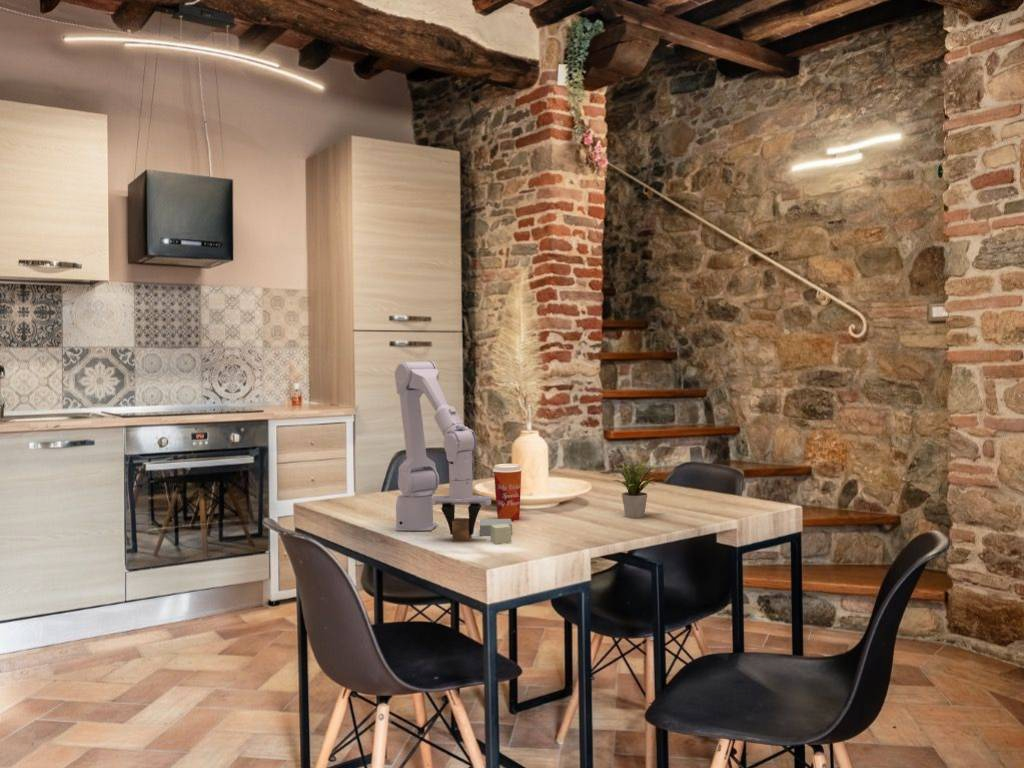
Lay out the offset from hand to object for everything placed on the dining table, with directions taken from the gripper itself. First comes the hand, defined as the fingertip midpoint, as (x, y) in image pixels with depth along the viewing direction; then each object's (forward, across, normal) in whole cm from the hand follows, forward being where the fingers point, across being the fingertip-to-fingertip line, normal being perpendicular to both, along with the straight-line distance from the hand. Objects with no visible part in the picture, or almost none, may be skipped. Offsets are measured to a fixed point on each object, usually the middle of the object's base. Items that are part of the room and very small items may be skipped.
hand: (462, 533), depth 203 cm
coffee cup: (+2, +8, +26) cm, 27 cm away
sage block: (+2, +10, -2) cm, 10 cm away
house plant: (+2, +43, +30) cm, 52 cm away
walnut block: (+2, 0, 0) cm, 2 cm away
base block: (+2, +7, +9) cm, 12 cm away
